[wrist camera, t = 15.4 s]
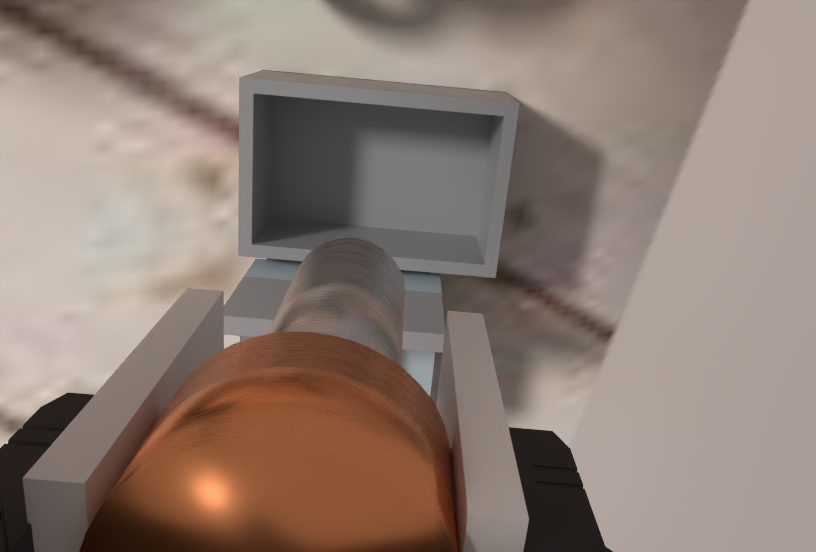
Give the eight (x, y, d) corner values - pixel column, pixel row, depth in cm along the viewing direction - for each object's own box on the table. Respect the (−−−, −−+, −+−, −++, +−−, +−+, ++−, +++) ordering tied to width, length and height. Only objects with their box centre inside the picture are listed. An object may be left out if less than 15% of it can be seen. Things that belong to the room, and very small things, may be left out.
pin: (263, 196, 18) (60, 425, 8) (447, 213, 18) (486, 459, 8) (259, 361, 20) (88, 731, 9) (428, 376, 20) (441, 757, 10)
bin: (263, 69, 34) (239, 77, 30) (505, 92, 35) (520, 103, 30) (260, 226, 37) (238, 255, 33) (485, 245, 37) (495, 278, 33)
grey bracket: (270, 237, 37) (217, 315, 28) (437, 252, 38) (445, 334, 28) (266, 416, 41) (218, 541, 31) (418, 429, 41) (419, 557, 31)
